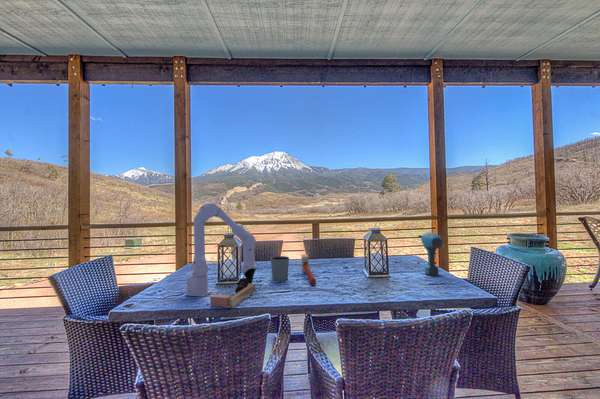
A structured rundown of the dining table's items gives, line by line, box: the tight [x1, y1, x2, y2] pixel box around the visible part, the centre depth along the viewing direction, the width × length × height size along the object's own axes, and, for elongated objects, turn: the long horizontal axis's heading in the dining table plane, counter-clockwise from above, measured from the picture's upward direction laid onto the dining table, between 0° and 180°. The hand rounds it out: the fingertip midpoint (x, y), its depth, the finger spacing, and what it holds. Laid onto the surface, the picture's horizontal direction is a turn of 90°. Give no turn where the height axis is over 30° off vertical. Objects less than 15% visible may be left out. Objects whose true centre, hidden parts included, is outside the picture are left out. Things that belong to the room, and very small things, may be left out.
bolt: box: [234, 277, 250, 294], centre depth 147 cm, size 6×5×15 cm
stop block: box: [210, 293, 232, 308], centre depth 130 cm, size 8×3×4 cm, turn 74°
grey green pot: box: [270, 255, 290, 283], centre depth 169 cm, size 10×10×12 cm
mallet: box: [301, 253, 317, 286], centre depth 170 cm, size 11×4×30 cm
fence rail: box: [228, 282, 256, 309], centre depth 139 cm, size 2×23×4 cm, turn 164°
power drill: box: [418, 232, 443, 277], centre depth 175 cm, size 28×9×23 cm, turn 179°
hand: (249, 283), depth 158 cm, fingers closed
